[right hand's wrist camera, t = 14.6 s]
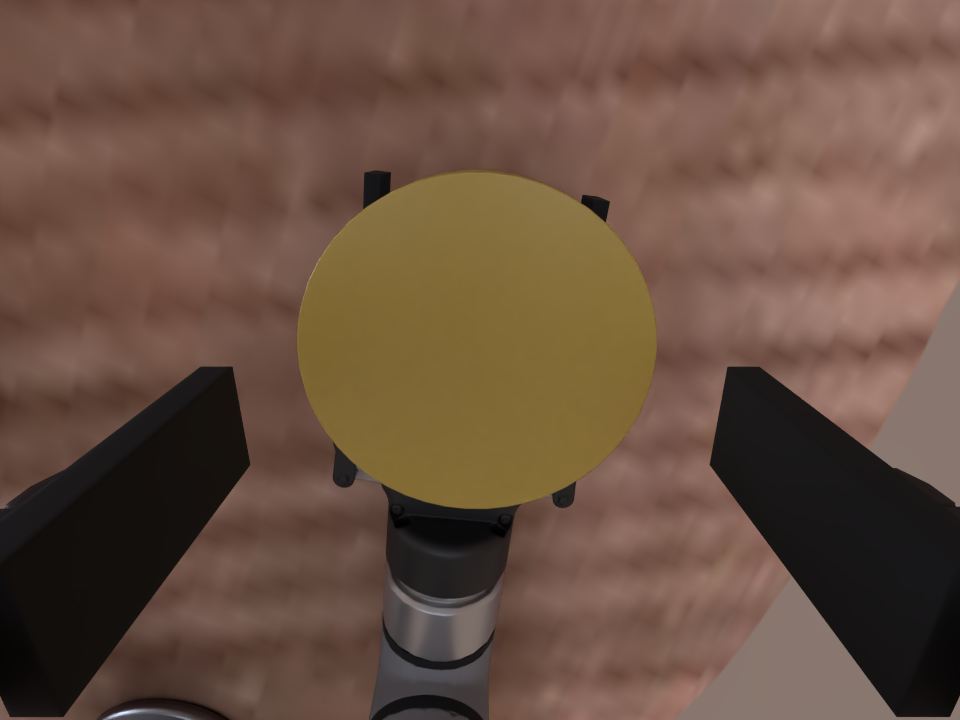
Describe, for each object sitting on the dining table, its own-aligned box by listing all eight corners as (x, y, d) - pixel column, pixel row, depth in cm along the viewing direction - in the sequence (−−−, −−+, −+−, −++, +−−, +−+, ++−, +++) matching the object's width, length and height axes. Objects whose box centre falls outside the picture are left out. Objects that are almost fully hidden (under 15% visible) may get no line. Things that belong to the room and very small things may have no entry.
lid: (587, 498, 20) (598, 532, 18) (302, 449, 19) (284, 479, 17) (685, 211, 16) (711, 218, 14) (332, 133, 15) (313, 130, 14)
